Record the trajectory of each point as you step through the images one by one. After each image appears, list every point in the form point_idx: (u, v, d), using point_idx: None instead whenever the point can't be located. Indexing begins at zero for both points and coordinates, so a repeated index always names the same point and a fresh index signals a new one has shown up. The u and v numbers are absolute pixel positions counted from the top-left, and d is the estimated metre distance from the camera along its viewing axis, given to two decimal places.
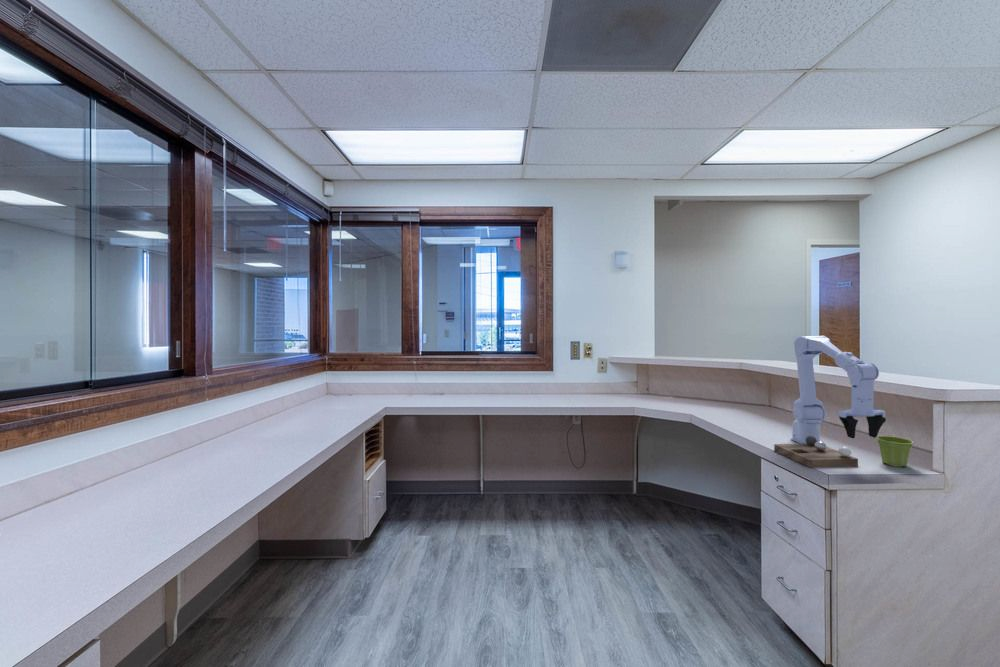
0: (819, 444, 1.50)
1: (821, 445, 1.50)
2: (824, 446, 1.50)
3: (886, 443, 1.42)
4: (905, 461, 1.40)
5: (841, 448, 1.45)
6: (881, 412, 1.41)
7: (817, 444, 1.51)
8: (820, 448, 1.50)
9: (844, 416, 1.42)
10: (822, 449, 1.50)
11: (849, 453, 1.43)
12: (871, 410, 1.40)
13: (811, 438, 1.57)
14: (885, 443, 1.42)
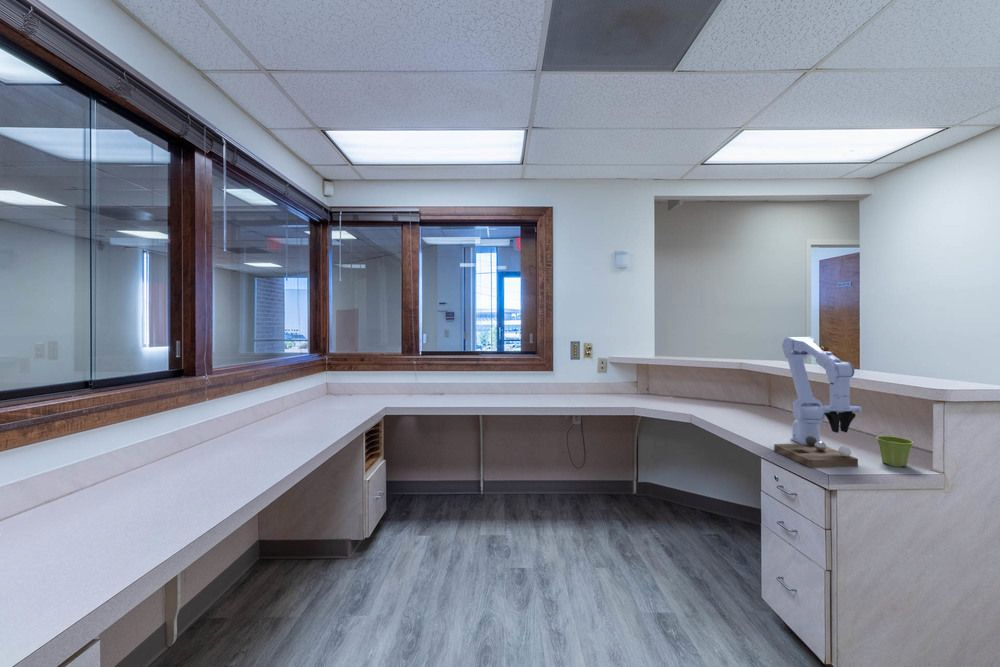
0: (819, 444, 1.50)
1: (821, 445, 1.50)
2: (824, 446, 1.50)
3: (886, 443, 1.42)
4: (905, 461, 1.40)
5: (841, 448, 1.45)
6: (857, 408, 1.50)
7: (817, 444, 1.51)
8: (820, 448, 1.50)
9: (822, 412, 1.50)
10: (822, 449, 1.50)
11: (849, 453, 1.43)
12: (847, 406, 1.48)
13: (811, 438, 1.57)
14: (885, 443, 1.42)
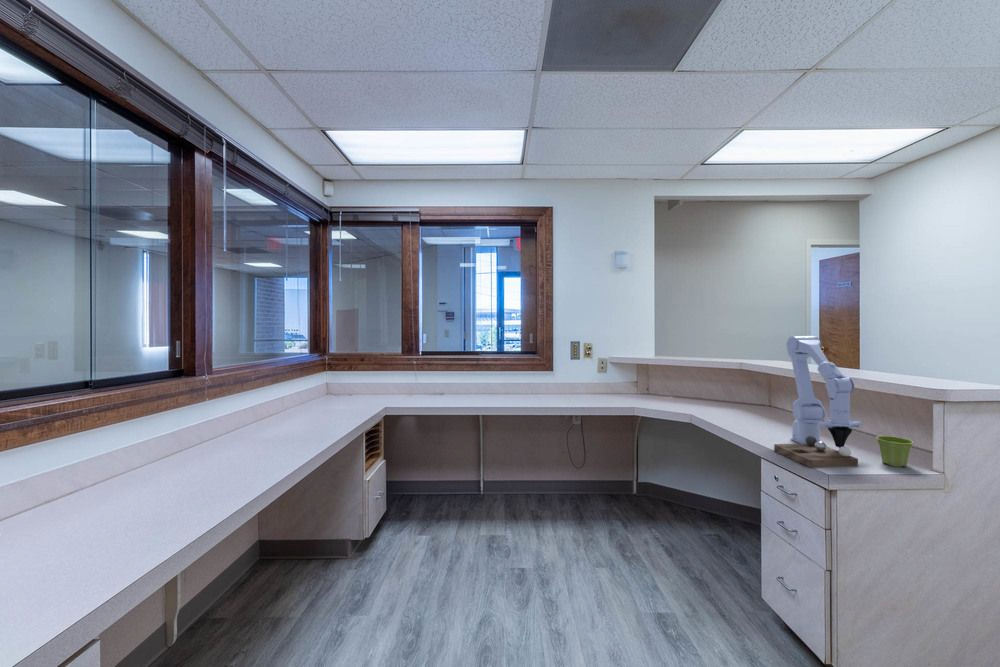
0: (819, 444, 1.50)
1: (821, 445, 1.50)
2: (824, 446, 1.50)
3: (886, 443, 1.42)
4: (905, 461, 1.40)
5: (841, 448, 1.45)
6: (857, 423, 1.50)
7: (817, 444, 1.51)
8: (820, 448, 1.50)
9: (822, 427, 1.50)
10: (822, 449, 1.50)
11: (849, 453, 1.43)
12: (847, 421, 1.48)
13: (811, 438, 1.57)
14: (885, 443, 1.42)
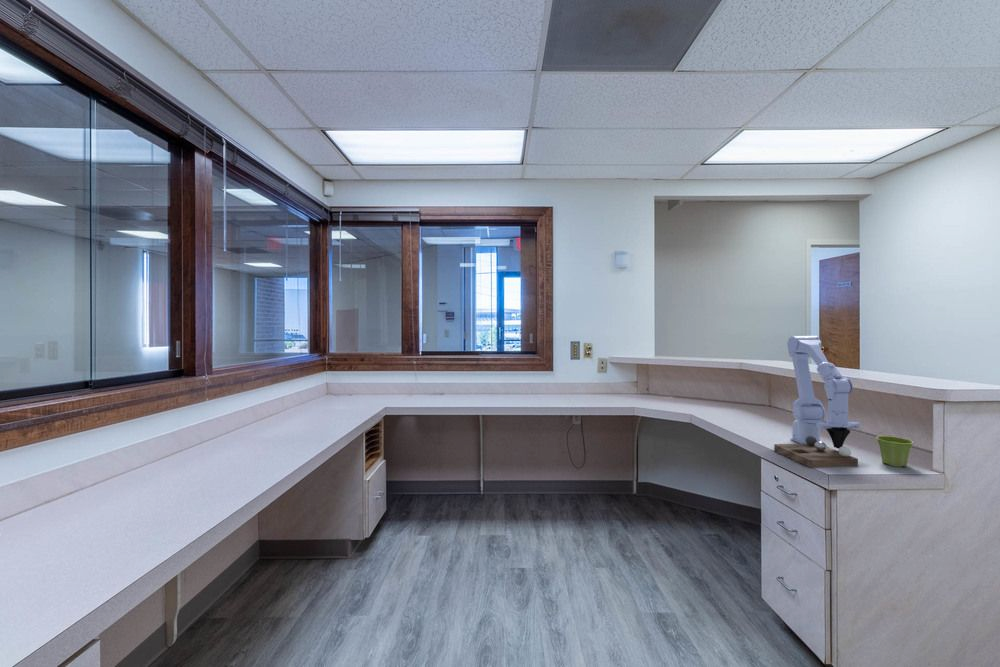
0: (819, 444, 1.50)
1: (821, 445, 1.50)
2: (824, 446, 1.50)
3: (886, 443, 1.42)
4: (905, 461, 1.40)
5: (841, 448, 1.45)
6: (855, 424, 1.50)
7: (817, 444, 1.51)
8: (820, 448, 1.50)
9: (821, 428, 1.50)
10: (822, 449, 1.50)
11: (849, 453, 1.43)
12: (846, 422, 1.48)
13: (811, 438, 1.57)
14: (885, 443, 1.42)
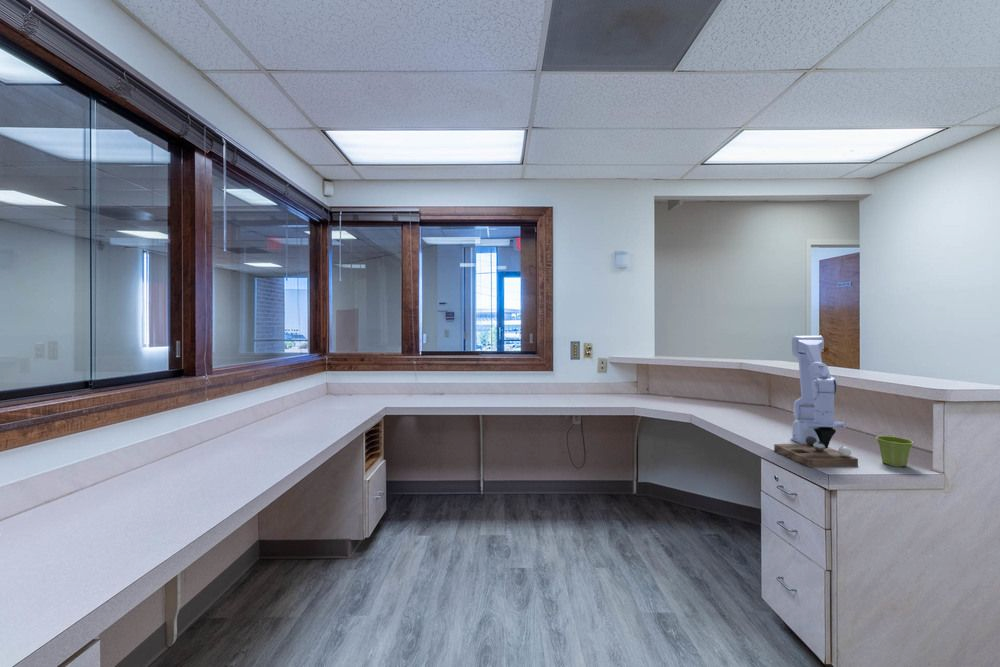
0: (817, 445, 1.50)
1: (820, 446, 1.50)
2: (823, 446, 1.50)
3: (886, 443, 1.42)
4: (905, 461, 1.40)
5: (841, 448, 1.45)
6: (842, 424, 1.50)
7: (815, 445, 1.51)
8: (819, 449, 1.50)
9: (807, 428, 1.50)
10: (821, 450, 1.50)
11: (849, 453, 1.43)
12: (832, 422, 1.48)
13: (811, 438, 1.57)
14: (885, 443, 1.42)
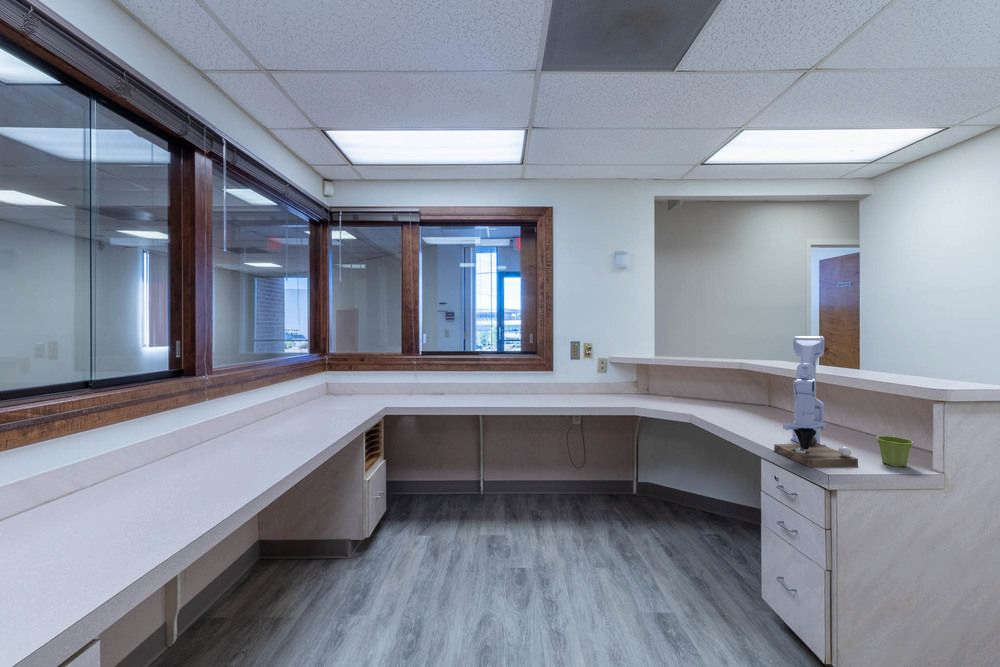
0: None
1: None
2: None
3: (886, 443, 1.42)
4: (905, 461, 1.40)
5: (841, 448, 1.45)
6: (822, 425, 1.50)
7: None
8: (805, 451, 1.51)
9: (787, 429, 1.50)
10: (803, 452, 1.50)
11: (849, 453, 1.43)
12: (812, 423, 1.48)
13: None
14: (885, 443, 1.42)
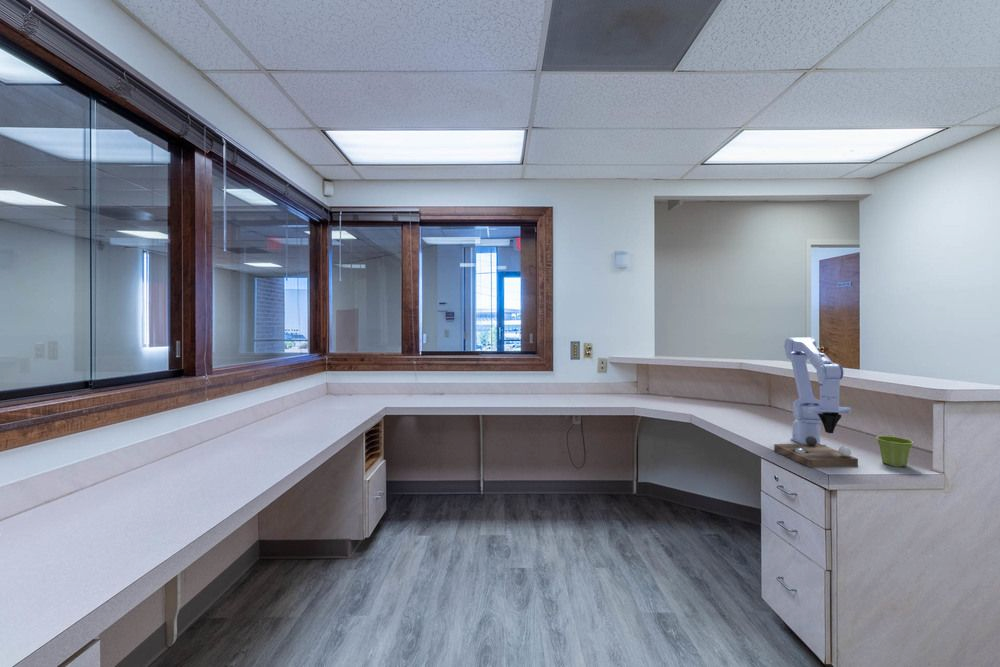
0: None
1: None
2: None
3: (886, 443, 1.42)
4: (905, 461, 1.40)
5: (841, 448, 1.45)
6: (847, 409, 1.51)
7: None
8: (805, 451, 1.51)
9: (812, 413, 1.52)
10: (803, 452, 1.50)
11: (849, 453, 1.43)
12: (837, 407, 1.50)
13: (811, 438, 1.57)
14: (885, 443, 1.42)
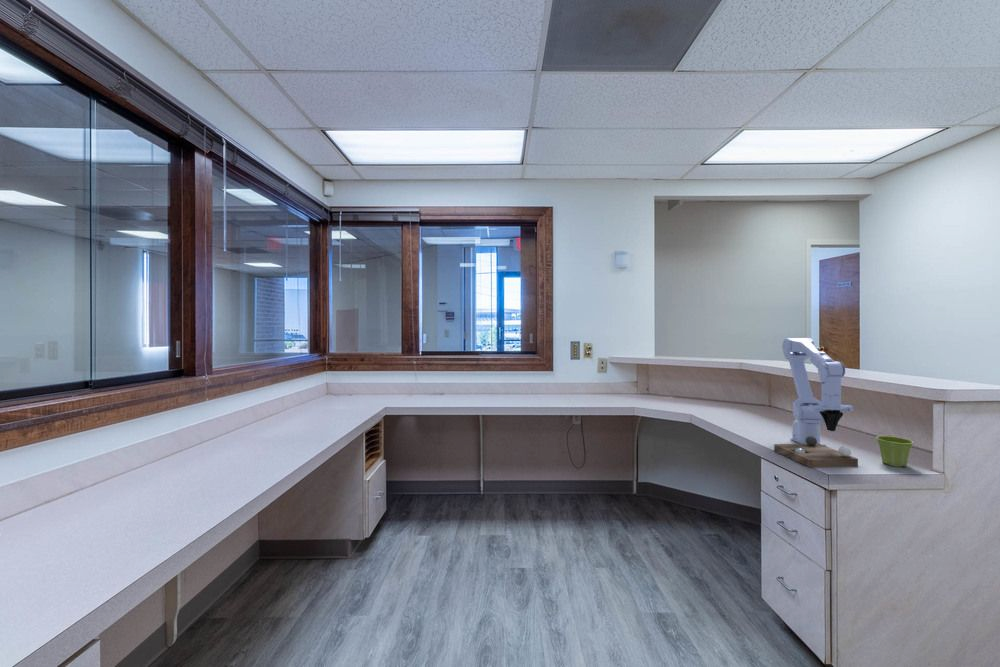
0: None
1: None
2: None
3: (886, 443, 1.42)
4: (905, 461, 1.40)
5: (841, 448, 1.45)
6: (848, 407, 1.52)
7: None
8: (804, 451, 1.51)
9: (814, 411, 1.52)
10: (803, 452, 1.50)
11: (849, 453, 1.43)
12: (839, 405, 1.50)
13: (811, 438, 1.57)
14: (885, 443, 1.42)
